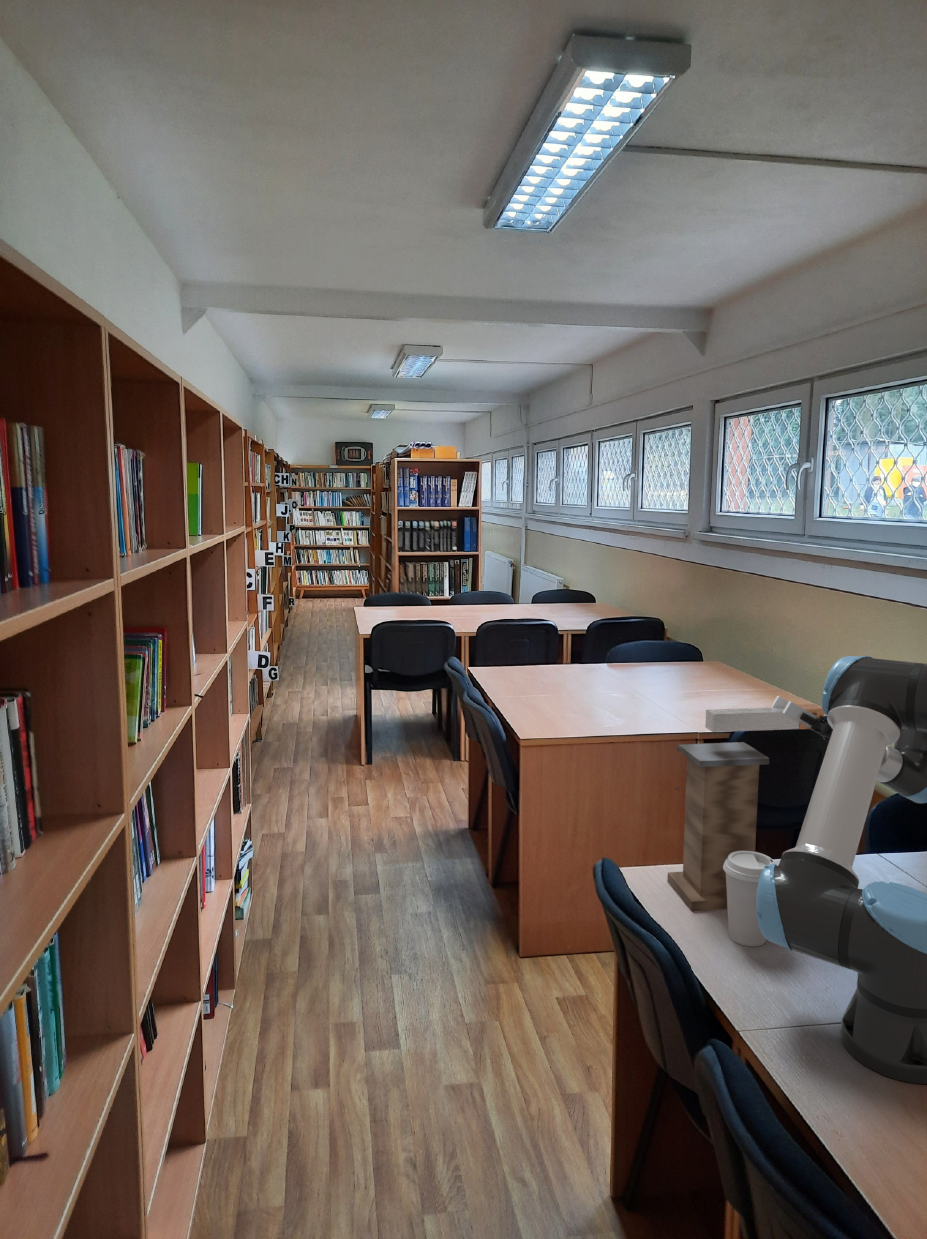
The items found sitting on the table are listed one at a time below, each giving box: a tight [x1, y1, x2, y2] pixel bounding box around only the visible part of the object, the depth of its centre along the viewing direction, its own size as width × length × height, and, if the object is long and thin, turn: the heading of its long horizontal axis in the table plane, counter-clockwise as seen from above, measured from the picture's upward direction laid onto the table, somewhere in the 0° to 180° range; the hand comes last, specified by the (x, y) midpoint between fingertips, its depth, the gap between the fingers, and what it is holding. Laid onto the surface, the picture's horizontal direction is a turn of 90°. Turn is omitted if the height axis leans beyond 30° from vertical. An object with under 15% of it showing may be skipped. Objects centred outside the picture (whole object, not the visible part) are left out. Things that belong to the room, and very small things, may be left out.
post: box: [667, 741, 770, 912], centre depth 168 cm, size 16×13×30 cm
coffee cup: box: [723, 851, 775, 947], centre depth 152 cm, size 10×10×15 cm
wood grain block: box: [705, 703, 825, 733], centre depth 166 cm, size 23×4×4 cm, turn 97°
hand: (781, 704), depth 166 cm, fingers closed on wood grain block, 4 cm apart
